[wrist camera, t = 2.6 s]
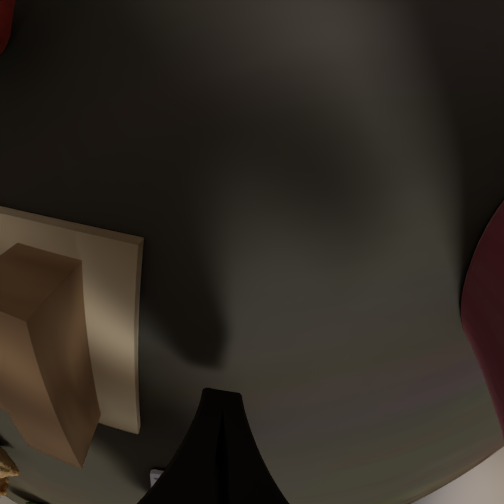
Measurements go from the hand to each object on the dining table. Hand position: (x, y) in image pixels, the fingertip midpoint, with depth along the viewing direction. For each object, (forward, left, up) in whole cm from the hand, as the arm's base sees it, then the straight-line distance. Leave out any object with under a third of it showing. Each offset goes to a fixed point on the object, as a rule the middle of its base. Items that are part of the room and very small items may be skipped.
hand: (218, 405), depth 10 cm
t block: (0, +10, -1) cm, 10 cm away
